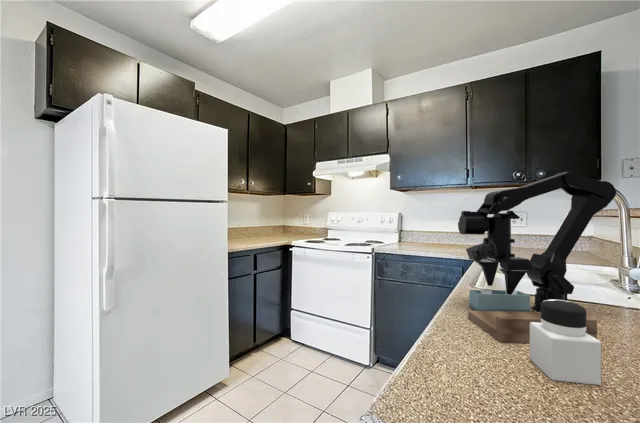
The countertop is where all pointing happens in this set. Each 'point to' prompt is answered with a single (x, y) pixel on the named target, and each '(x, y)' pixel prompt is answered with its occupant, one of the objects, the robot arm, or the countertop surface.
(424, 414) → the countertop surface
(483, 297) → the tray
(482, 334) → the countertop surface
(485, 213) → the robot arm
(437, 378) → the countertop surface
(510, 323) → the walnut shelf
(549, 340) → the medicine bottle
